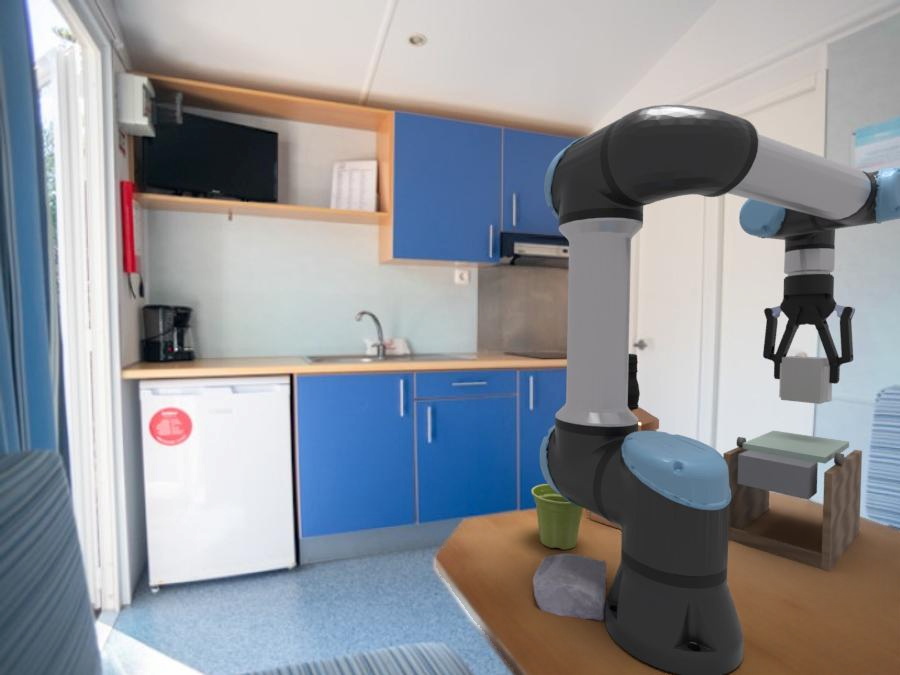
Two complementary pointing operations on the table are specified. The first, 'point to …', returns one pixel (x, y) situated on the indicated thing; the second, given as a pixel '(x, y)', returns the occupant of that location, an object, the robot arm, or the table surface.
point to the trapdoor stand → (837, 511)
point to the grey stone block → (803, 379)
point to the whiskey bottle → (644, 418)
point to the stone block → (571, 586)
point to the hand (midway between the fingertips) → (804, 398)
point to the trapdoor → (786, 462)
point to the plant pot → (556, 518)
